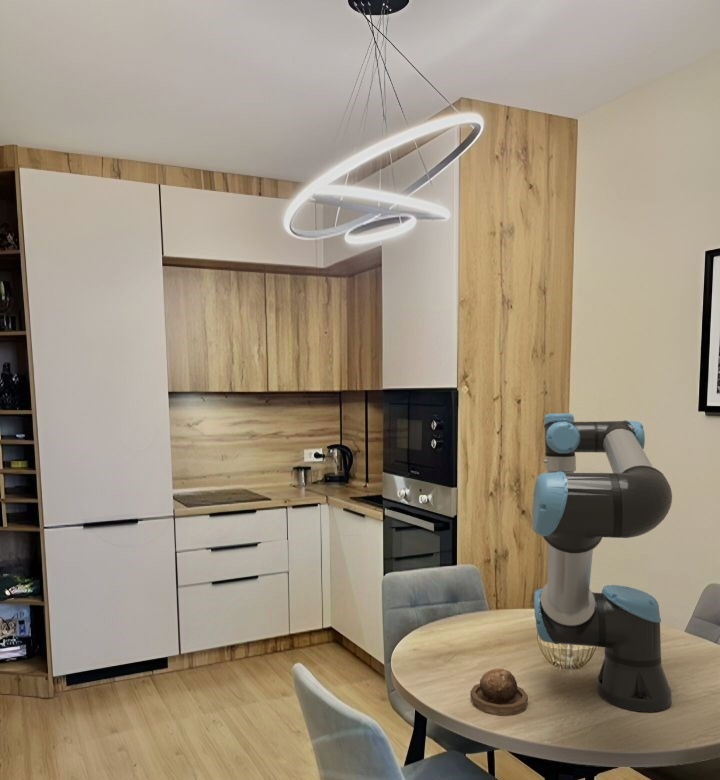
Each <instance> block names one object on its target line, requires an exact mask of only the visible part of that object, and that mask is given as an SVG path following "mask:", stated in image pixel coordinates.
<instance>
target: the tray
mask: <svg viewBox="0 0 720 780" xmlns="http://www.w3.org/2000/svg"><path fill="white" fill-rule="evenodd" d="M469 694H470V698H471V699H470V700H471V704H472V705H473V706H474V707H475V708H476V709H478V710H479V711H481V712H483V713H485V714H486V713H487V714H490V715H492V716H493V715H494V716H501V717H502V716H504V717H505V716H507V717H508V716H515V715H518V714H521V713H522V712H523V713H524V711H526V709H527V707H528V701H529V697H528V694H527V693H526V691H525V690H524V688H522V687H520V686H518V685H517V693H516V695H515V698H514V699H512V700H511V701H510V702H507V703H494V702H492V701H490V700H488V699H487V698H486V697H485V696H484V695H483V693H482V691H481V689H480V683H477V684H475V685H473V687H472V688H471V690H470V693H469Z"/></svg>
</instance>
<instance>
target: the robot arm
mask: <svg viewBox="0 0 720 780" xmlns="http://www.w3.org/2000/svg"><path fill="white" fill-rule="evenodd" d="M543 421H544V422H543V428H544V450H545V451H544V455H545V458H544V459H543V460H542V463H543V464H545V470H546V472H543V473H541V474H539V475H538V476H537V477H536V480H535V484H534V489H533V495H532V496H533V497H532V498H533V500H532V507H531V508H532V511H531V514H532V517H531V519H532V529H533V532H534V533H535V534H536V535H539V536H542V538H543V540H544V541H545V542H546V543H547V583H545V585H544V586H543V587H542V588H540V589H539V588H538V589H536V590H535V591H534V596H533V604H534V605H533V607H534V617H535V618H534V619H535V626H536V630H537V631H536V632H537V635H538V637H539V639H540V640H541V641H542V642H544V643H545V642H546V643H551V644H554V645H569V646H570V645H571V646H583V647H585V646H586V647H596V648H597V647H598V648H604V658H603V661H602V665H601V667H600V670H599V673H598V677H597V684H596V685H597V687H596V688H597V692H598V696H600V697H601V698H602V699H603V700H605V701H606V702H607V703H609V704H612V705H613V706H616V707H619V708H622V709H625V710H629V711H635V712H643V713H645V712H646V713H647V712H649V713H653V712H660V711H664V710H666V709H668V708H669V707H670V706H672V691H671V687H670V686H669V685H670V684H669V683H668V680H667V679H668V678H667V676H666V674H665V671H664V668H663V664H662V649H661V648H662V644H661V643H662V642H661V640H662V639H661V622H662V621H661V620H662V618H661V614H660V606H659V602H658V601H657V599H656V598H655V597H654V596H653V595H651V594H649V593H648V592H645V591H643V590H640V589H637V588H633V587H630V586H624V585H618V584H610V585H609V584H608V585H605V586H602V587H603V588H602V589H601V592H594V591H593V592H592V590H591V588H590V585H591V573H592V563H593V562H592V561H593V552H594V551H593V550H595V548H597V547H598V546H599V544H600V543H601V541H602V539H603V538H612V539H613V538H615V539H617V538H618V539H619V538H621V539H623V538H624V539H630V538H636V537H639V536H640V537H641V536H642V535H645V534H646V533H649V532H650V531H652V530H653V529H655V528H656V527H657V526H659V525H660V524H661V523H662V522H663V521H664V520H665V518H666V517H667V515H668V514H669V511H670V509H671V507H672V502H673V494H672V493H673V492H672V488H671V485H670V483H669V481H668V480H667V478H666V476H665V475H664V473H662V471H660V470H659V469H657V468H656V467H654V466H653V464H652V463H651V461H650V460H649V458H648V456H647V454H646V453H645V451H644V449H645V445H646V444H645V442H646V441H645V440H646V438H645V437H646V436H645V430H644V426H643V424H642V422H640V421H633V420H615V421H613V420H612V421H608V420H607V421H575V418H574V414H572V413H546V414H545V416H544V420H543ZM576 453H605V455H606V458H607V460H608V463H609V465H610V469H611V471H612V473H610V472H576V470H577V465H576V464H577V462H576V461H577V460H576V459H577V457H576Z"/></svg>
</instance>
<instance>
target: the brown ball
mask: <svg viewBox="0 0 720 780" xmlns="http://www.w3.org/2000/svg"><path fill="white" fill-rule="evenodd" d="M479 684H480V689H481V691H482V693H483V695H484V696H485V697H486V698H487V699H488V700H490V701H492V702H494V703H507V702H510V701H511V700H512V699H514V698H515V695H516V693H517V686H518V683H517V680H516V678H515V676H514V674H513V673H512V672H511V671H509V670H507V669H504V668H493V669H490V670H489V671H487V672H485V673H484V674H483V675H482V676H481V678H480V679H479Z"/></svg>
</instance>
